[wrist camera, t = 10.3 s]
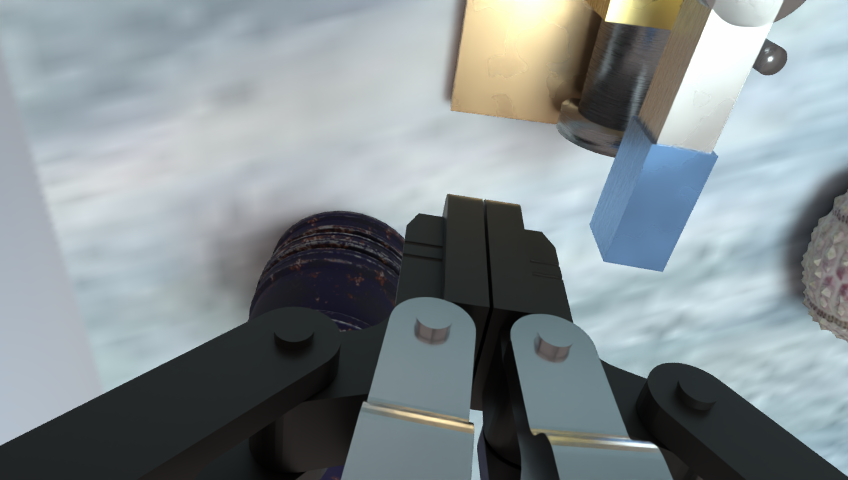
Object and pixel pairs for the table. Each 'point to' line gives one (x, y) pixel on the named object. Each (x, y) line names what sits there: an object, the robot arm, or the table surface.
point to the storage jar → (334, 273)
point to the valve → (568, 63)
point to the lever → (679, 128)
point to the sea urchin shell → (829, 270)
